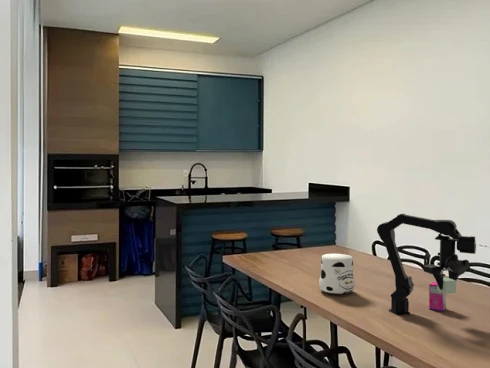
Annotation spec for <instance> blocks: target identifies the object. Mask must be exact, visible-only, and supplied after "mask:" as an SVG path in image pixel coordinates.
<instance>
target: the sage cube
mask: <svg viewBox="0 0 490 368" xmlns="http://www.w3.org/2000/svg"><path fill="white" fill-rule="evenodd" d="M437 291H440V292H442V293H445V294H446V295H448V294H456V293H457V281H456V280H453V279H450V278H449V277H443V289H442V290H440V288H439V286H438V284H437Z"/></svg>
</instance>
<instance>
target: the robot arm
mask: <svg viewBox="0 0 490 368" xmlns="http://www.w3.org/2000/svg"><path fill="white" fill-rule="evenodd" d="M402 224H403V225H409V226H412V227H418V228H422V229H427V230H432V231H433V232H435V233H438V235H437V236H436V237H434V239H435V240H436V241H439V252H437V256H439V261H438V262H436V264H437V265H436V264H432V263H431V264H425V265H424V266H423V272H425V273H426V274H430V275H433V278H434V279H435V282H437V284H438V286H439V288H440V290H442V289H443V278H445V276H446V274H445V273H444V272H446V271H447V272H448V278H450V279H453V280H456V282H457V281H458V278H459V277H460V276H461V275H463V274H465V273H469V272H471V266H470V261H469V260H468V259H459V255H458V254H456V250H457V251H459V253H460V254H462V253H463V254H473V255H476V251H477V242H476V236H464V235H462V234H461V232H460V231H459V230H458V229H457V224H456V222H455V221H454V220H451V219H430V218H425V217H420V216H415V215H409V214H406V213H400V214H398V215H396V216H395V217H394V218H392V219H391V220H389V221H385V222H382V223H380V224H379V225H378V226H377V227H376V228H377V229H376V232H377V234H378V236H379V239H380V240H381V241H382V242H383V244H384V246H385V250H386V252H387V255H388V259H389V261H390V265H391V267H392V270H393V273H394V276H395V277H394V278H395V279H394V280H395V281H394V283H395V290H394V291H393V292H392V293H391V294H390V297H391V300H390V301H391V308H389V309H388V311H389V312H391V313H393V314H395V315H396V316H400V315H401V316H402V315H410V314H411V312H410V310H409V309H410V308H409V305H410V302H409V298H408V297H409V296H410V295H411V294H412V293H413V291H414V286H415V284H414V282H413V278H412V276H408V275H407V274H406V272H405V268H404V266H403V265H404V264H403V262H402V259H401V255H400V252H399V249H398V247H397V243H396V232H395V229H396V228H398V227H400V226H402Z"/></svg>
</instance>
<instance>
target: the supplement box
mask: <svg viewBox="0 0 490 368" xmlns="http://www.w3.org/2000/svg"><path fill="white" fill-rule="evenodd" d="M428 289H429V290H428V291H429V293H428V298H429V299H428V300H429V301H428V305H429V306H428V307H429V308H428V309H429V310H431V311H436V312H439V313H443V312H445V310H447V294H445V293H442V292H440V291H437V282H436V281H432V282H430V283H429V284H428Z"/></svg>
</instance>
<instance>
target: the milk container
mask: <svg viewBox="0 0 490 368" xmlns="http://www.w3.org/2000/svg"><path fill="white" fill-rule="evenodd" d="M318 285H319V289H320V291H321V292H323V293H325V294H328V295H332V296H333V295H335V296H344V295H345V296H347V295H350V294H351V293H353V292H354V290H355V285H356V284H355V278H354V258H353V256H352V255H349V254H344V253H326V254H322V256H321V263H320V276H319V280H318Z"/></svg>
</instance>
